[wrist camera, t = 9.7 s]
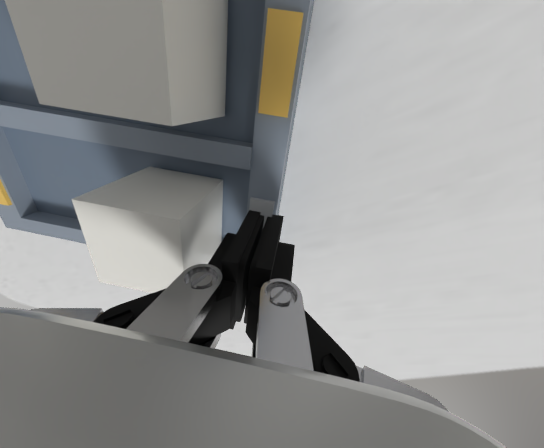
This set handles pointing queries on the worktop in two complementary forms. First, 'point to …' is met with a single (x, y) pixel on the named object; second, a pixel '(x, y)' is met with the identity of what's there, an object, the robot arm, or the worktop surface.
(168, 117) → the tab
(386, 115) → the worktop surface
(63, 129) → the switch bank
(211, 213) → the tab
